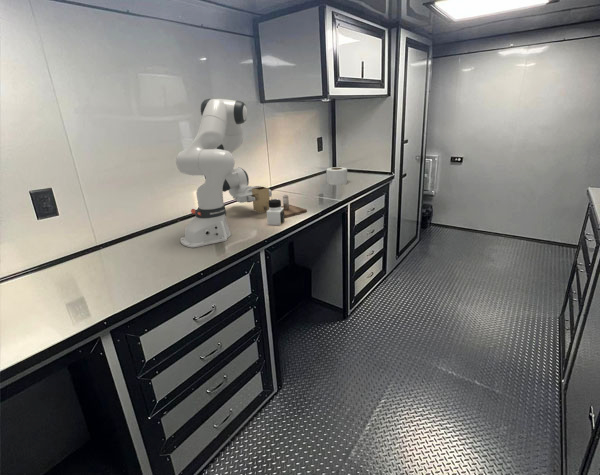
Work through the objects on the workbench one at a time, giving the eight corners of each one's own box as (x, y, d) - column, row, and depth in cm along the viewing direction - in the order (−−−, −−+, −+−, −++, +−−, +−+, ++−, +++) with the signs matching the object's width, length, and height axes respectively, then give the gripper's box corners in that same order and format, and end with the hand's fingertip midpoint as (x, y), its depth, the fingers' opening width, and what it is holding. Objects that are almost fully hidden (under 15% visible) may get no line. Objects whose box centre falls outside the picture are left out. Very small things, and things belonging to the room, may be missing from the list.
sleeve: (261, 213, 178) (259, 190, 174) (252, 210, 184) (250, 188, 180) (271, 210, 182) (269, 188, 178) (262, 208, 188) (261, 186, 184)
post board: (283, 218, 179) (282, 199, 175) (266, 212, 191) (264, 195, 187) (306, 212, 188) (306, 194, 185) (288, 206, 200) (288, 190, 197)
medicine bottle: (281, 225, 169) (279, 201, 164) (267, 225, 170) (265, 201, 166) (284, 220, 175) (283, 198, 171) (271, 220, 177) (269, 197, 172)
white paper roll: (332, 186, 248) (331, 171, 245) (323, 182, 262) (322, 168, 258) (350, 183, 254) (351, 168, 250) (341, 180, 267) (341, 166, 263)
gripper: (230, 191, 183) (244, 195, 173) (262, 185, 195) (277, 188, 185) (232, 203, 185) (245, 207, 175) (263, 196, 197) (277, 200, 187)
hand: (261, 197), depth 180 cm, fingers closed on sleeve, 6 cm apart
